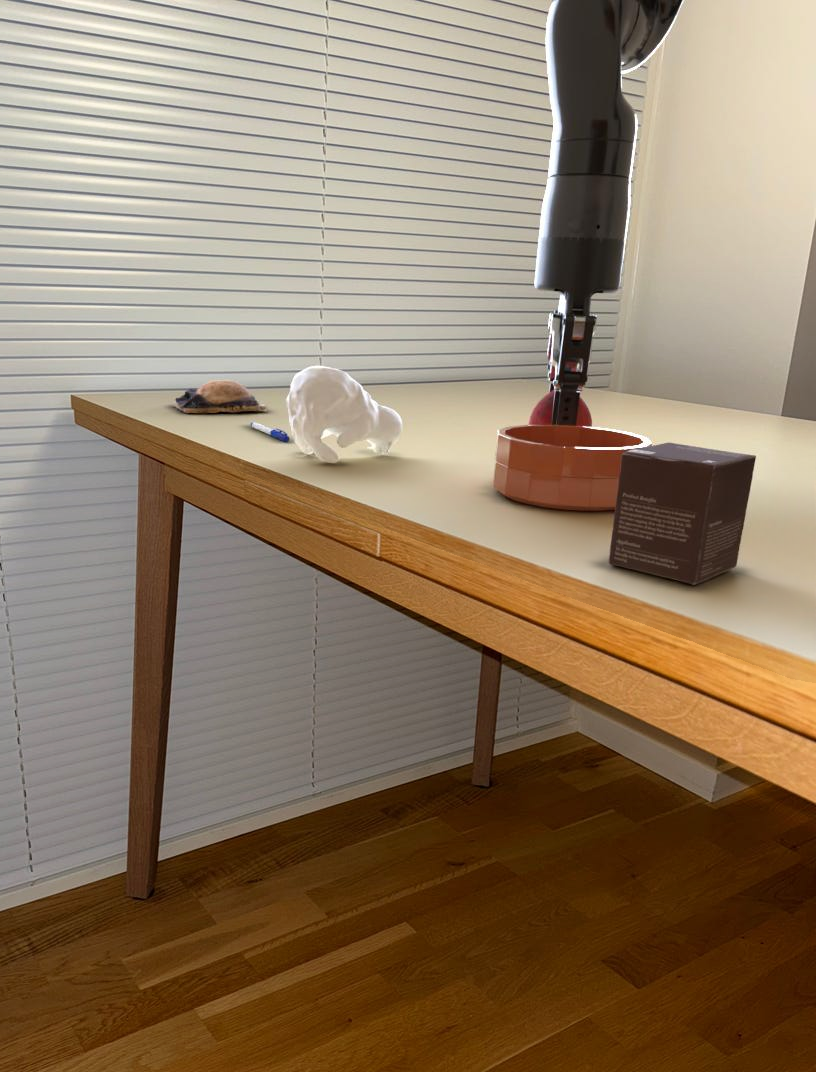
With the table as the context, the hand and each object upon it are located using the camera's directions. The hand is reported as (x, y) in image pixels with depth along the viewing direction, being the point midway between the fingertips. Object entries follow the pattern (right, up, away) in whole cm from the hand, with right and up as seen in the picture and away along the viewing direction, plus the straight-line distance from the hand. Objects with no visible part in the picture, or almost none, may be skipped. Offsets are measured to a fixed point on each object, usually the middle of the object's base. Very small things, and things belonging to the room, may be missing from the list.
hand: (559, 426), depth 91 cm
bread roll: (-36, +9, +31) cm, 48 cm away
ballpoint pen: (-29, +2, +14) cm, 32 cm away
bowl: (-2, -8, -11) cm, 14 cm away
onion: (0, -4, +1) cm, 4 cm away
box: (0, -16, -30) cm, 34 cm away
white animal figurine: (-20, -3, +3) cm, 20 cm away
